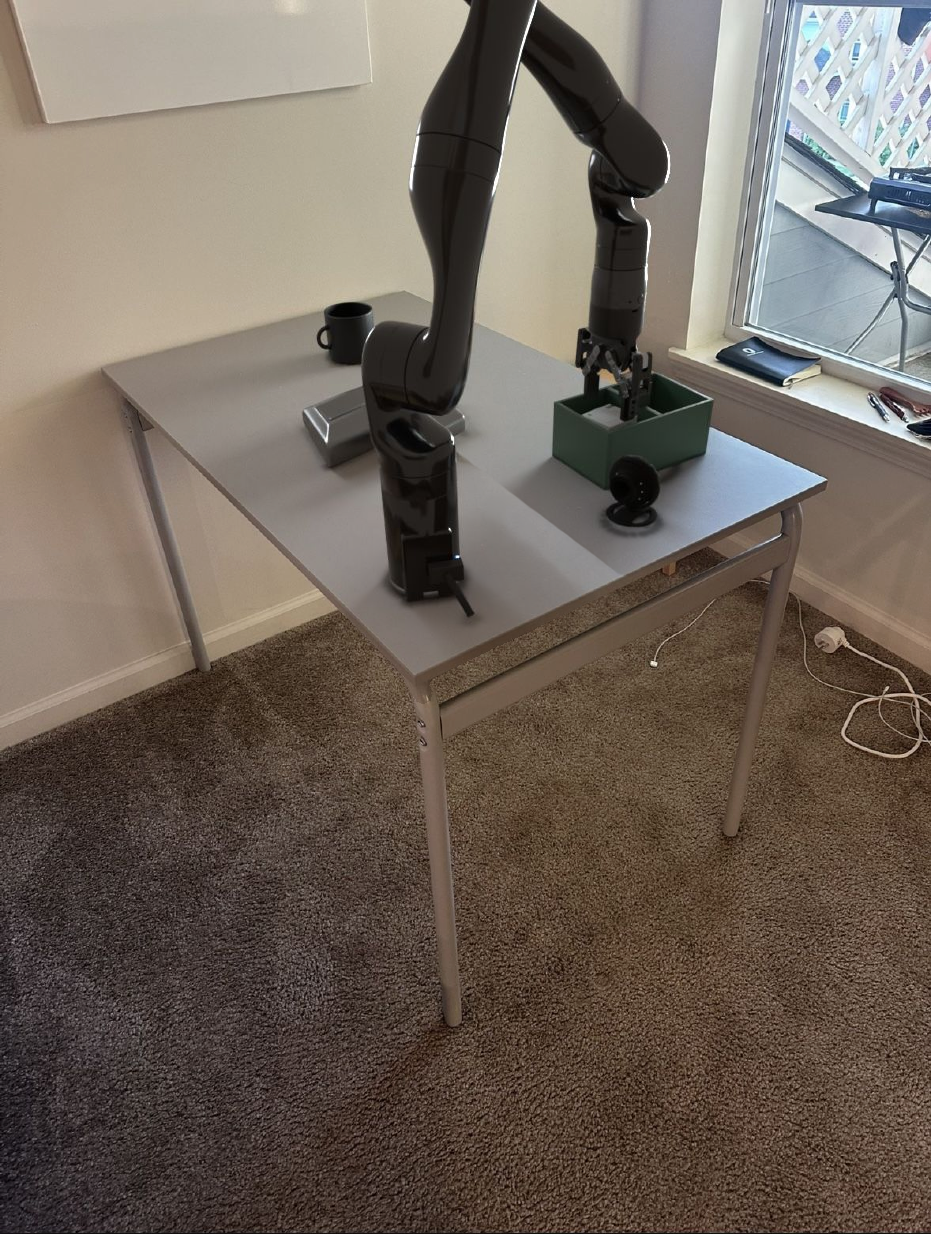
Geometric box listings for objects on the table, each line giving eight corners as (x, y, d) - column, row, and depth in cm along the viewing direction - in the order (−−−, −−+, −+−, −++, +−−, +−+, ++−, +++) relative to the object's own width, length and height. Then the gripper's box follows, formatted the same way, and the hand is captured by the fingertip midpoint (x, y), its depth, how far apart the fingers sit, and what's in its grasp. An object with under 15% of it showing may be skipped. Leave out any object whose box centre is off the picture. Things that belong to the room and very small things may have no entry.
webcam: (592, 521, 127) (596, 457, 120) (624, 501, 131) (630, 438, 125) (636, 541, 122) (643, 476, 116) (669, 520, 126) (677, 456, 120)
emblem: (327, 364, 161) (480, 372, 156) (331, 392, 164) (480, 401, 159) (270, 434, 139) (445, 446, 134) (275, 465, 142) (446, 478, 138)
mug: (309, 356, 178) (303, 311, 173) (363, 342, 183) (358, 298, 178) (330, 371, 172) (324, 324, 166) (385, 357, 177) (381, 311, 171)
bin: (650, 423, 148) (658, 349, 140) (705, 453, 139) (717, 377, 131) (551, 455, 140) (554, 379, 132) (604, 490, 131) (610, 410, 123)
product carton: (606, 472, 134) (609, 427, 129) (577, 458, 138) (580, 414, 133) (634, 460, 137) (638, 415, 132) (605, 446, 141) (608, 402, 136)
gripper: (564, 289, 125) (559, 398, 135) (629, 317, 115) (619, 433, 125) (607, 280, 128) (599, 388, 138) (674, 306, 118) (660, 420, 128)
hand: (608, 409), depth 132 cm, fingers open, 8 cm apart
